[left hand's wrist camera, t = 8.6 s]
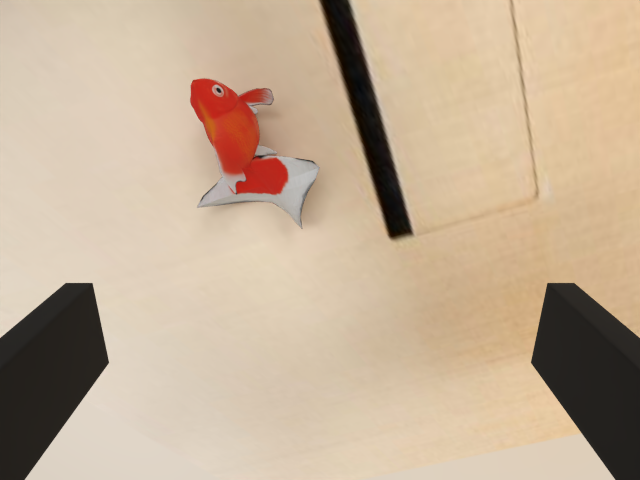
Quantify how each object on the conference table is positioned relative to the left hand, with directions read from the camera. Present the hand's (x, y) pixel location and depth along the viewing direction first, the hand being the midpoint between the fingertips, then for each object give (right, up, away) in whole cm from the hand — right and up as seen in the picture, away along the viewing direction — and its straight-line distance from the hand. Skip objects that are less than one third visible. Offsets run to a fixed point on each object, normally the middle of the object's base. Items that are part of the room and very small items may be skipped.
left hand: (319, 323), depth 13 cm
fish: (-6, +11, +30) cm, 32 cm away
